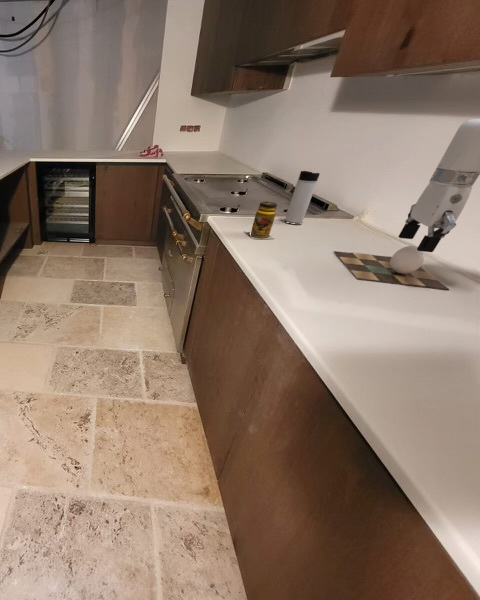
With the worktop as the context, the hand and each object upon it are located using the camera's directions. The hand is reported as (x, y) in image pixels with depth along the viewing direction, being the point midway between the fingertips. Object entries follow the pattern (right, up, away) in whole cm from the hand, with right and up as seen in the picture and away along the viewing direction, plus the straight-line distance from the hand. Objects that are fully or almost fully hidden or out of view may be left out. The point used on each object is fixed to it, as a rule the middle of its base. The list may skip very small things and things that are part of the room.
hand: (414, 244), depth 86 cm
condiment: (-24, +9, +32) cm, 41 cm away
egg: (0, -7, +4) cm, 9 cm away
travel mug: (-4, +16, +44) cm, 47 cm away
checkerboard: (-1, -6, +7) cm, 9 cm away
